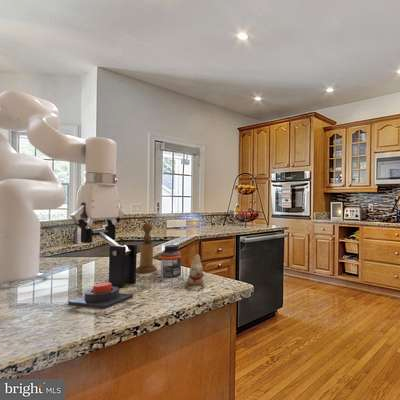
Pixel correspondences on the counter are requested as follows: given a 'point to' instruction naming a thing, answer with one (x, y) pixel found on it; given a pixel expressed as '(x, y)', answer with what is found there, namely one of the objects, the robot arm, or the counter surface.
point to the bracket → (122, 265)
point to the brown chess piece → (146, 252)
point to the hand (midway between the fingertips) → (98, 240)
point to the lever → (109, 240)
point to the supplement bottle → (171, 262)
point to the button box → (101, 299)
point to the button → (102, 287)
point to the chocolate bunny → (196, 272)
